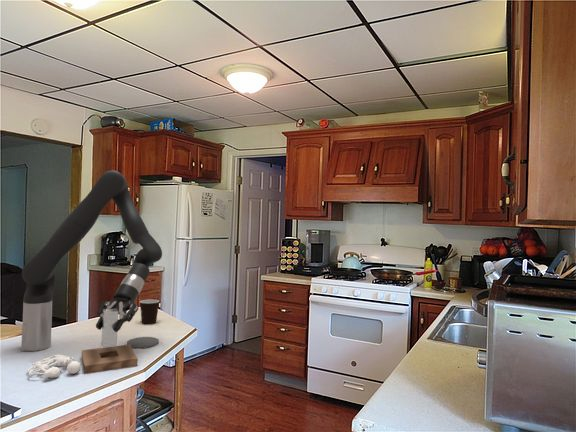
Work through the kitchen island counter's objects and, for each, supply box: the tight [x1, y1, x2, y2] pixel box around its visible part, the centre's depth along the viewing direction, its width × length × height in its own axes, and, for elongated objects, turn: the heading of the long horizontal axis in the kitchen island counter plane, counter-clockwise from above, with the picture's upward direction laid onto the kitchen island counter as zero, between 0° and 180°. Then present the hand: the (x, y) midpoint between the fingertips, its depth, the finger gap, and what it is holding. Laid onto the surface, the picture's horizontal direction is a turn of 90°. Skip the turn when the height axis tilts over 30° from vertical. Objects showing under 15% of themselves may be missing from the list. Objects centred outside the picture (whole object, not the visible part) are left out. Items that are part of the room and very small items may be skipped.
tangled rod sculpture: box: [27, 353, 82, 379], centre depth 131 cm, size 19×14×4 cm
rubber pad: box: [126, 336, 160, 349], centre depth 159 cm, size 12×12×1 cm
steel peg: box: [101, 309, 119, 348], centre depth 139 cm, size 4×4×12 cm
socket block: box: [80, 344, 139, 374], centre depth 139 cm, size 16×16×2 cm
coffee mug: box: [139, 299, 160, 325], centre depth 190 cm, size 12×9×10 cm
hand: (106, 329), depth 137 cm, fingers closed on steel peg, 6 cm apart
